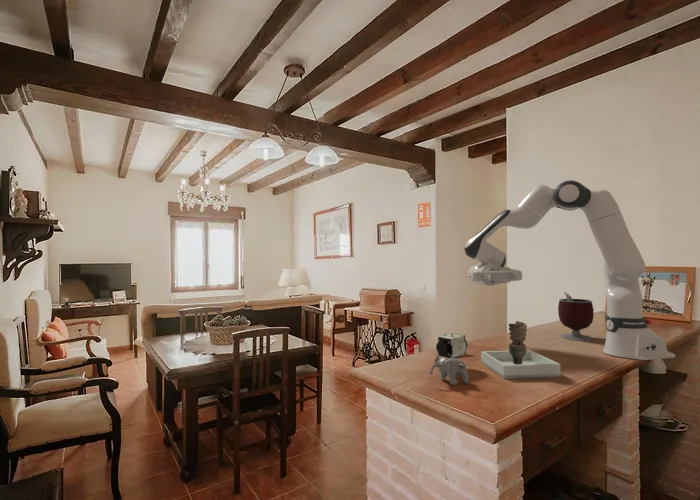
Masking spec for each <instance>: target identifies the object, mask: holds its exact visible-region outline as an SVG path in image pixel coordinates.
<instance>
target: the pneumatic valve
mask: <svg viewBox="0 0 700 500" xmlns="http://www.w3.org/2000/svg"><path fill="white" fill-rule="evenodd" d="M444 335H445V334H444ZM444 335H442V336H438V338H437V343H436V344H435V345H436V346H435V348H436V351H437V353H438V355H437V356H441V357H442V358H446V359H451V358H453V359H458V360H460V358H458V357H460V356H459V355H461V356H462V355H465V354H466V351H468V346H467V344H468V341H467V339H466V335H465V334H460V333H459V334H458V333H454V332H449V334H447V335H445V336H444ZM456 357H457V358H456Z"/></svg>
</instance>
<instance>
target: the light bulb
mask: <svg viewBox="0 0 700 500" xmlns="http://www.w3.org/2000/svg"><path fill="white" fill-rule="evenodd" d="M527 325H528V324H527V323H525V322H523V321H518V320H517V321H515V323H508V326H509V328H508V331H509V332H508V334H509V340H511V343H509V344H508V348H509V350H508V351H509V352H510V354H511V355H512V357H513V363H514V364H516V365H517V364H522V358H523V357H524V355H525V354H526V350H527V344H525V343H524V341H525V340H526V339H527V338H526V337H527V331H528V330H527V328H528V326H527Z"/></svg>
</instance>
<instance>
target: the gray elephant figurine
mask: <svg viewBox="0 0 700 500" xmlns="http://www.w3.org/2000/svg"><path fill="white" fill-rule="evenodd" d="M446 358H447V357H443V356H439V355H436V356H435V358H434V364H432V366H431V368H430V370H429V375H430V376H431V375H433V373H434V372H433V371H434V369H435V368H438V370H439V372H440V379H441V380H442V381H445V380H446V378H447V376H448V377H449V384H450V385H451V386H456V385H457V384H458V383H457V382H458V381H457V377H458V378H460V376H461V377H462V379H463V382H464V384H465V385H468V384H469V383H470V379H469V374H468V370H467V365H466V364H465V362H464V361H463V360H461V359H459V360H458V359H453V358H451V359H446Z"/></svg>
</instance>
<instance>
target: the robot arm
mask: <svg viewBox="0 0 700 500" xmlns="http://www.w3.org/2000/svg"><path fill="white" fill-rule="evenodd" d="M553 208H557V209H561V210H564V211H576V210H578V209H579V210H582V211H583V213H584V214H585V216H586V219H587V221H588V224H589V226H590V227H589V228H590V230H591V233H592V235H593V237H594V240H595V243H596V244H597V246H598V248H599V251H600V252H601V255H602V257H603V259H604V260H603V275H604V287H605V295H606V315H605V327H606V335H605V342H604V346H603V350H602V352H603V353H604V354H607V355H610V356H614V357H619V358H627V359H634V360H640V361H652V360H663V359H672V358H673V359H674V358H676V354H675V353H673V352H671V351H668V347H667V344H666V341H665V339H664V338H663V337H661V336H660V335H659V334H657V332H654V331H653V330H652V329H650V328H649V327H648V325H654V323H655V320H654V319H651V318H645V317H643V315H644V314H643V294H642V292H641V287H640V279H639V278H640V277H641V276H642V275H643V274H644V273H645V270H646V263H645V260H644V259H643V257H642V255H641V252H640V251H639V248H638V247H637V244H636V242H635V241H634V239H633V238H632V236H631V233H630V231H629V228H628V227H627V224H626V221H625V219H624V217H623V214H622V212H621V209H620V207H619V205H618V202H617V201H616V199H615V198H614V196H613V195H612V193H611V192H610V191H609V190H607V189H597V190H596V189H595V190H593V191H591V190H590V189H589V188H588V187H586V186H585V185H583V184H582V183H581V182H579V181H577V180H566V181H563V182H561V183H559V184H558V185H557V187H556V188H552V187H549V186H548V185H543V184H539V185H536V186H535V187H534V188H533V189H531V190H530V191H529V192H528V193H527V194H526V195H525V196H524V197H523V199H522V200H521V201H520V202H519V203H518V204H517V205H516V206H515V207H513V208H511V209H504V210H502V211H501V212H500V213H499V214H497V215H496V216H495V217H493V218H492V220H490V221H489V222H488V223H487V224H486V225H485V226H484V227H482V228H481V230H479V231H478V232H476V233H475V234H474V235H473V236H472V237H470V239H468V240H467V241H466V243H465V244H464V246H463V248H464V252H465V255H466V256H467V257H468V258H470V259H473V260H475V261H476V262H478V263H477V264H474V265H472V266H471V267H470V268H469V269H468V274H466V277H468V278H469V280H470V281H472V282H473V283H476V284H478V285H484V286H489V287H490V286H491V287H492V286H495V285H500V284H508V283H511V282H517V281H518V282H519V281H522V280H523V272H522V271H521V270H520V269H519V270H518V269H515V268H511V267H508V266H507V267H506V266H505V265H506V262H507V255H506V253H505V252H504V251H502V249H500V248H498V247H497V246H495V245H493V244H492V243H490V242H489V241H487V239H489V238H490V237H491V236H493V234H494V233H496V231H498V230H499V229H501V228H503V227H513V228H516V229H522V230H525V229H531V228H534V227H535V226H536V225H538V224H539V223H540V222H541V220H543V218H544V217H545V216H546V214H548V212H549V211H550V210H551V209H553Z"/></svg>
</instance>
